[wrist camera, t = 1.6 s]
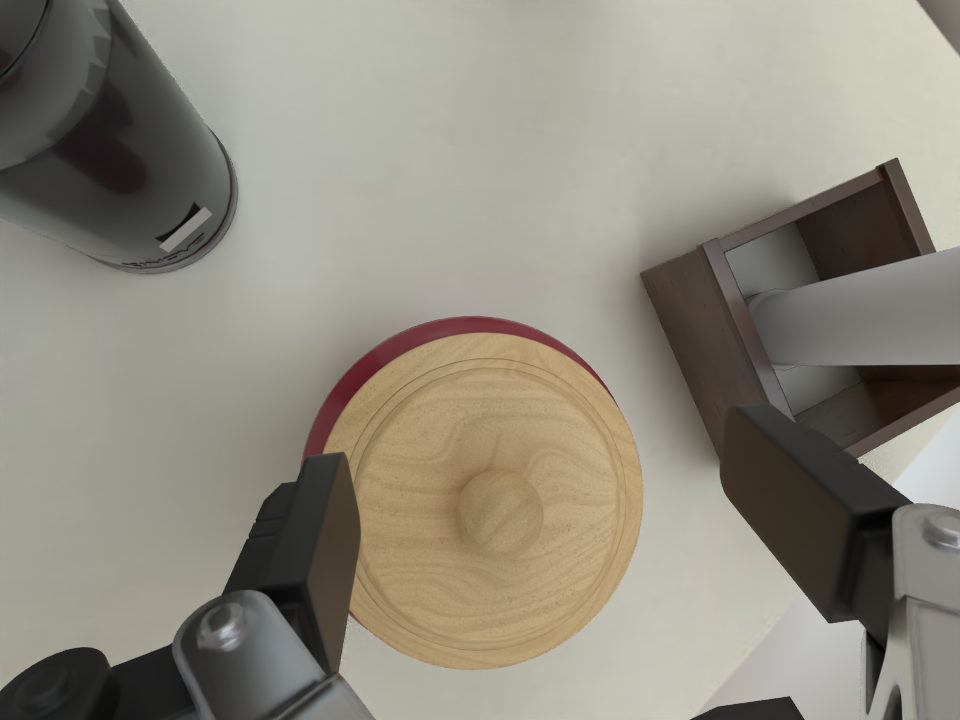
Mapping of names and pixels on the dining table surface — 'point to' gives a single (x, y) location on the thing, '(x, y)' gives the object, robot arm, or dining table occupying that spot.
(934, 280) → the bottle
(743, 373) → the crate
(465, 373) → the kitchen canister
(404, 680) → the dining table surface
